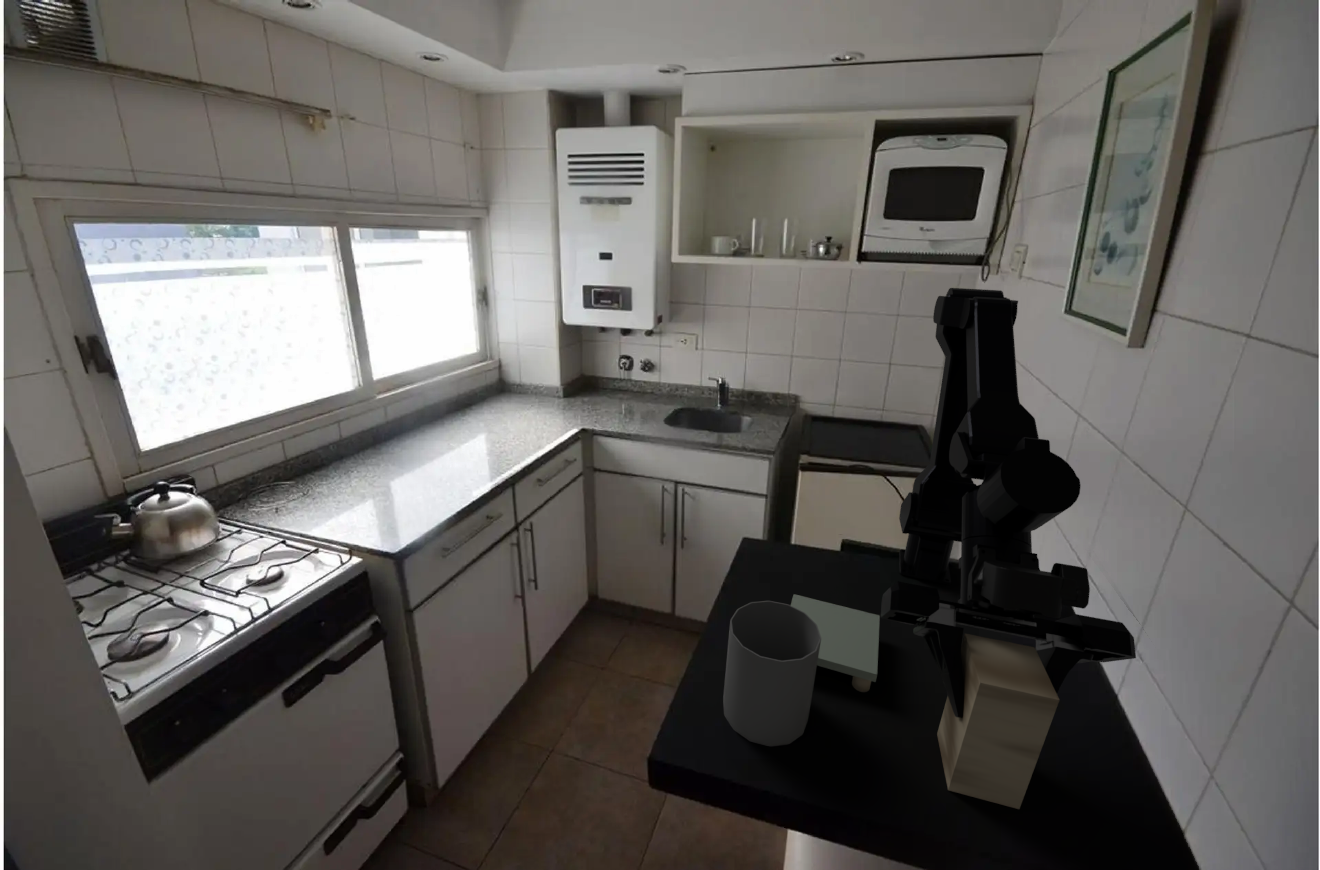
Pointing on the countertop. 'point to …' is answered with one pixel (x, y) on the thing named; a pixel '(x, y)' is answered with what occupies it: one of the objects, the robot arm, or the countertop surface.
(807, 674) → the cup
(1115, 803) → the countertop surface
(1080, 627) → the robot arm
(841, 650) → the peg shelf
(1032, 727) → the beech block
